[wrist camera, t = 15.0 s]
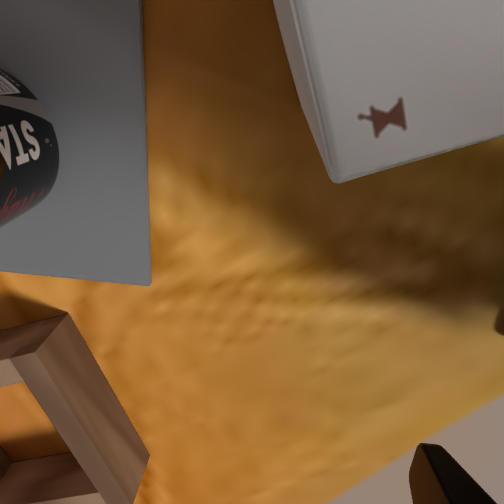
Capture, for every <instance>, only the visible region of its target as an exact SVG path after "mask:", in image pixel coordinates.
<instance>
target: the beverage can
mask: <svg viewBox="0 0 504 504" xmlns="http://www.w3.org/2000/svg"><path fill="white" fill-rule="evenodd" d="M58 170H59V147H58V141H57V137H56V133H55V130H54V128H53V125H52V123H51V121H50V118H49V116H48V115H47V113H46V111H45V109H44V108H43V106H42V105H41V103H40V102H39V101H38V99H37V98H36V97H35V96H34V94H33V93H32V92H31V91H30V90H29V89H28V88H27V87H26V86H25V85H24V84H23V83H21V82H20V81H19V80H18V79H17V78H15V77H14V76H12V75H11V74H9V73H8V72H6V71H5V70H3V69H1V68H0V228H1V227H3V226H5V225H6V224H8V223H10V222H11V221H13V220H15V219H16V218H18V217H20V216H21V215H23V214H25V213H26V212H28V211H29V210H31V209H32V208H34V207H36V206H37V205H38V204H40V203H41V202H42V201H43V200H44V199H45V198H46V197H47V196H48V194H49V193H50V191H51V190H52V188H53V186H54V184H55V181H56V178H57V175H58Z"/></svg>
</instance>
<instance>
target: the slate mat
mask: <svg viewBox="0 0 504 504" xmlns="http://www.w3.org/2000/svg"><path fill="white" fill-rule="evenodd" d="M0 68H1V69H3V70H5V71H6V72H8V73H9V74H11V75H12V76H14V77H15V78H17V79H18V80H19V81H20V82H21V83H23V84H24V85H25V86H26V87H27V88H28V89H29V90H30V91H31V92H32V93H33V94H34V96H35V97H36V98H37V99H38V101H39V102H40V103H41V105H42V106H43V108H44V109H45V111H46V113H47V115H48V116H49V118H50V121H51V123H52V125H53V128H54V130H55V133H56V137H57V141H58V147H59V170H58V175H57V178H56V181H55V184H54V186H53V188H52V190H51V191H50V193H49V194H48V196H47V197H46V198H45V199H44V200H43V201H42V202H41V203H40V204H38V205H37V206H36V207H34V208H32V209H31V210H29V211H28V212H26V213H25V214H23V215H21V216H20V217H18V218H16V219H15V220H13V221H11V222H10V223H8V224H6V225H5V226H3V227H1V228H0V271H2V272H12V273H22V274H32V275H42V276H52V277H62V278H72V279H83V280H93V281H103V282H113V283H123V284H133V285H143V286H150V284H151V283H152V280H151V251H150V222H149V192H148V163H147V134H146V105H145V75H144V46H143V17H142V0H0Z"/></svg>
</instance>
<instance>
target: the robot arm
mask: <svg viewBox="0 0 504 504" xmlns="http://www.w3.org/2000/svg"><path fill="white" fill-rule="evenodd" d="M409 483H410V489H411V495H412V500H413V504H497V503H496V502H495V501H494V500H493V499H492V498H491V497H490V496H489V495H488V494H487V493H486V492H485V491H484V490H483V489H482V488H481V487H480V486H479V485H478V483H476V481H475V480H473V478H472V477H471V476H470V475H469V474H468V473H467V472H466V471H465V470H464V469H463V468H462V467H461V466H460V465H459V464H458V463H457V461H455V459H454V458H452V456H451V455H450V454H449V453H448V452H447V451H446V450H445V449H444V448H443V447H442V446H440V445H437V444H427V443H420V444H419V445H418V446H417V448H416V451H415V455H414V458H413V461H412V464H411V467H410V471H409Z"/></svg>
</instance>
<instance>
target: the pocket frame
mask: <svg viewBox="0 0 504 504" xmlns="http://www.w3.org/2000/svg"><path fill="white" fill-rule="evenodd" d="M21 382H25V383H26V385H27V386H28V388H29V389H30V391H31V392H32V394H33V395H34V397H35V398H36V400H37V401H38V403H39V404H40V406H41V407H42V409H43V410H44V412H45V413H46V415H47V416H48V418H49V419H50V421H51V422H52V424H53V425H54V427H55V428H56V430H57V431H58V433H59V434H60V436H61V437H62V439H63V440H64V442H65V443H66V445H67V446H68V448H69V449H70V451H71V452H69V453H63V454H58V455H53V456H47V457H42V458H36V459H31V460H26V461H20V462H15V463H12V462H11V461H10V459H9V458H8V457H7V455H6V454H5V453H4V451H3V450H2V449H1V447H0V504H133V502H134V499H135V497H136V494H137V491H138V488H139V485H140V482H141V479H142V476H143V474H144V471H145V468H146V465H147V462H148V459H149V456H150V455H149V453H148V451H147V449H146V448H145V446H144V444H143V442H142V441H141V439H140V437H139V435H138V434H137V432H136V430H135V428H134V427H133V425H132V423H131V421H130V420H129V418H128V416H127V414H126V413H125V411H124V409H123V407H122V406H121V404H120V402H119V400H118V399H117V397H116V395H115V393H114V392H113V390H112V388H111V386H110V385H109V383H108V381H107V379H106V378H105V376H104V374H103V372H102V371H101V369H100V367H99V365H98V364H97V362H96V360H95V358H94V357H93V355H92V353H91V351H90V350H89V348H88V346H87V345H86V343H85V341H84V339H83V338H82V336H81V334H80V332H79V331H78V329H77V327H76V325H75V324H74V322H73V320H72V318H71V317H70V315H69V313H68V314H64V315H60V316H56V317H52V318H48V319H44V320H41V321H37V322H33V323H29V324H25V325H21V326H17V327H14V328H10V329H6V330H2V331H0V387H3V386H7V385H12V384H16V383H21Z"/></svg>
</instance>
